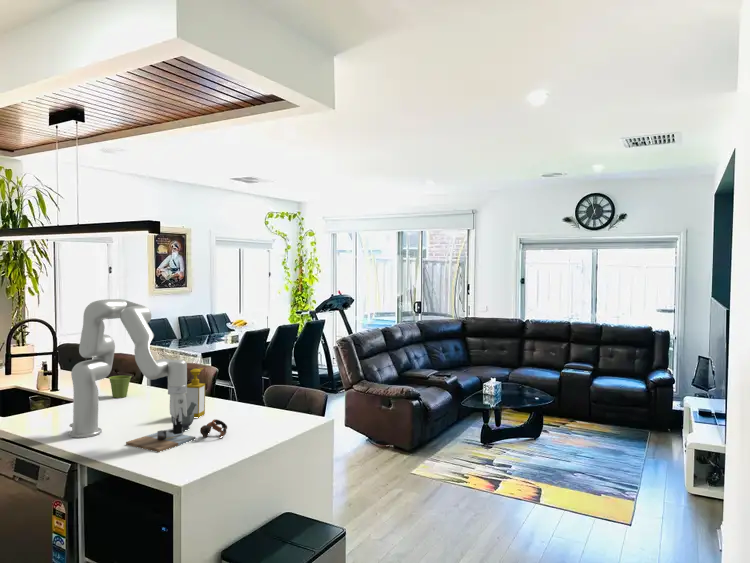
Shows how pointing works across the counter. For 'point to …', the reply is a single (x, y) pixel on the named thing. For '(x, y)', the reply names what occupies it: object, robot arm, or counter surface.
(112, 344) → the robot arm
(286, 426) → the counter surface
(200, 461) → the counter surface
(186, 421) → the mortar and pestle
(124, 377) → the plant pot
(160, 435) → the bar
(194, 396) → the white and gold bottle
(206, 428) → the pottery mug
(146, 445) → the latch board
